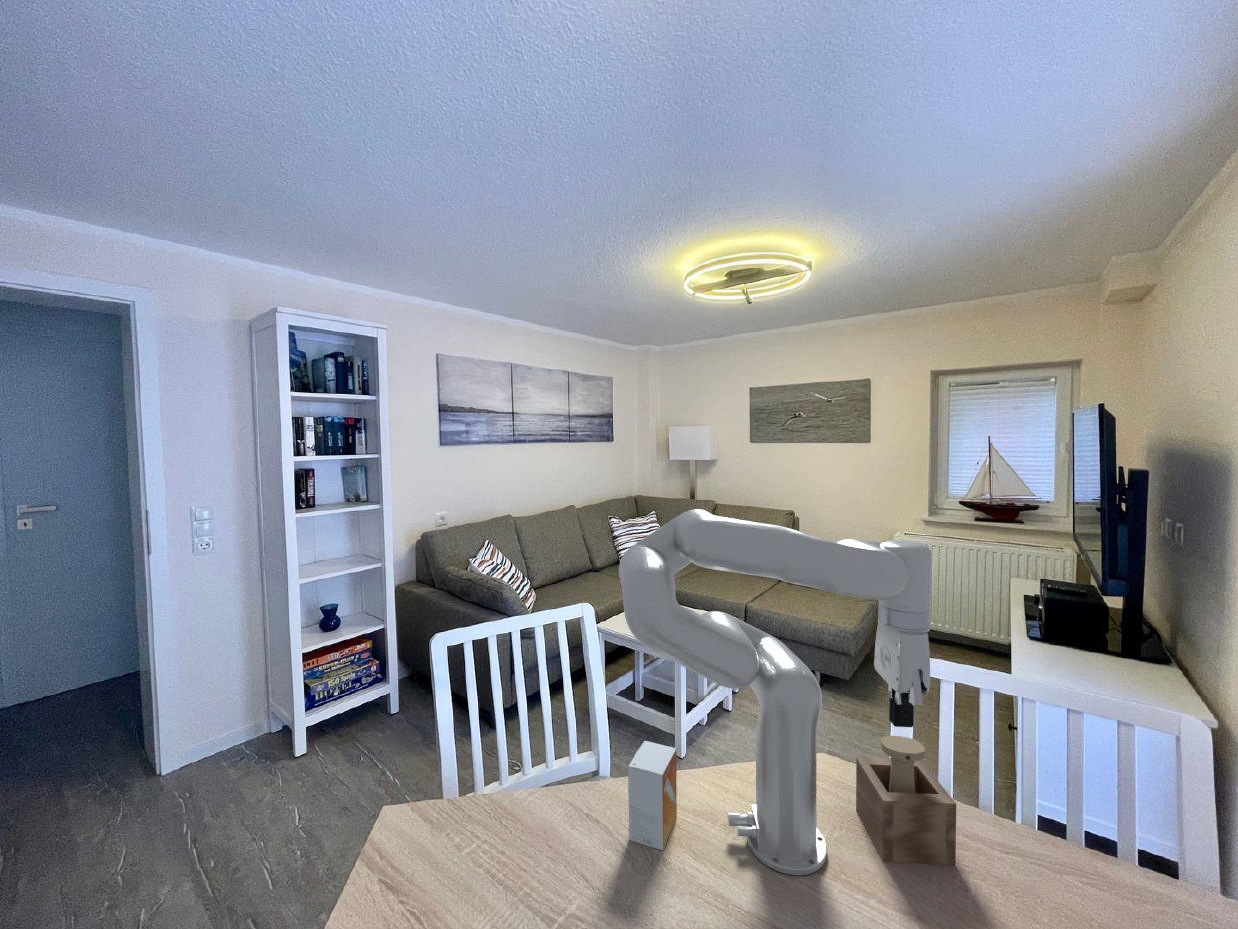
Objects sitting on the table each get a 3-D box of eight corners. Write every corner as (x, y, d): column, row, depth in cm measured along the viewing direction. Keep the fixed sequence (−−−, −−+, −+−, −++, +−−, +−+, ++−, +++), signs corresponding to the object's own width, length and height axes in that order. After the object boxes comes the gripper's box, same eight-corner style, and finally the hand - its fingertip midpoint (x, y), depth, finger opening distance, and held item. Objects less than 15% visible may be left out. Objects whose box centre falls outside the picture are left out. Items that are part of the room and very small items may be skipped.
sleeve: (882, 861, 80) (883, 800, 80) (856, 810, 91) (856, 757, 90) (955, 865, 79) (956, 803, 79) (919, 813, 90) (920, 759, 90)
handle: (928, 844, 82) (929, 755, 81) (886, 839, 83) (886, 751, 82) (916, 822, 87) (917, 737, 86) (876, 818, 88) (877, 734, 87)
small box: (663, 852, 83) (662, 775, 82) (628, 840, 85) (626, 766, 84) (678, 818, 90) (677, 747, 89) (644, 808, 93) (643, 739, 92)
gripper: (862, 601, 91) (860, 700, 92) (901, 633, 76) (898, 750, 77) (905, 602, 90) (903, 702, 91) (953, 634, 76) (950, 753, 76)
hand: (901, 724), depth 84 cm, fingers closed
